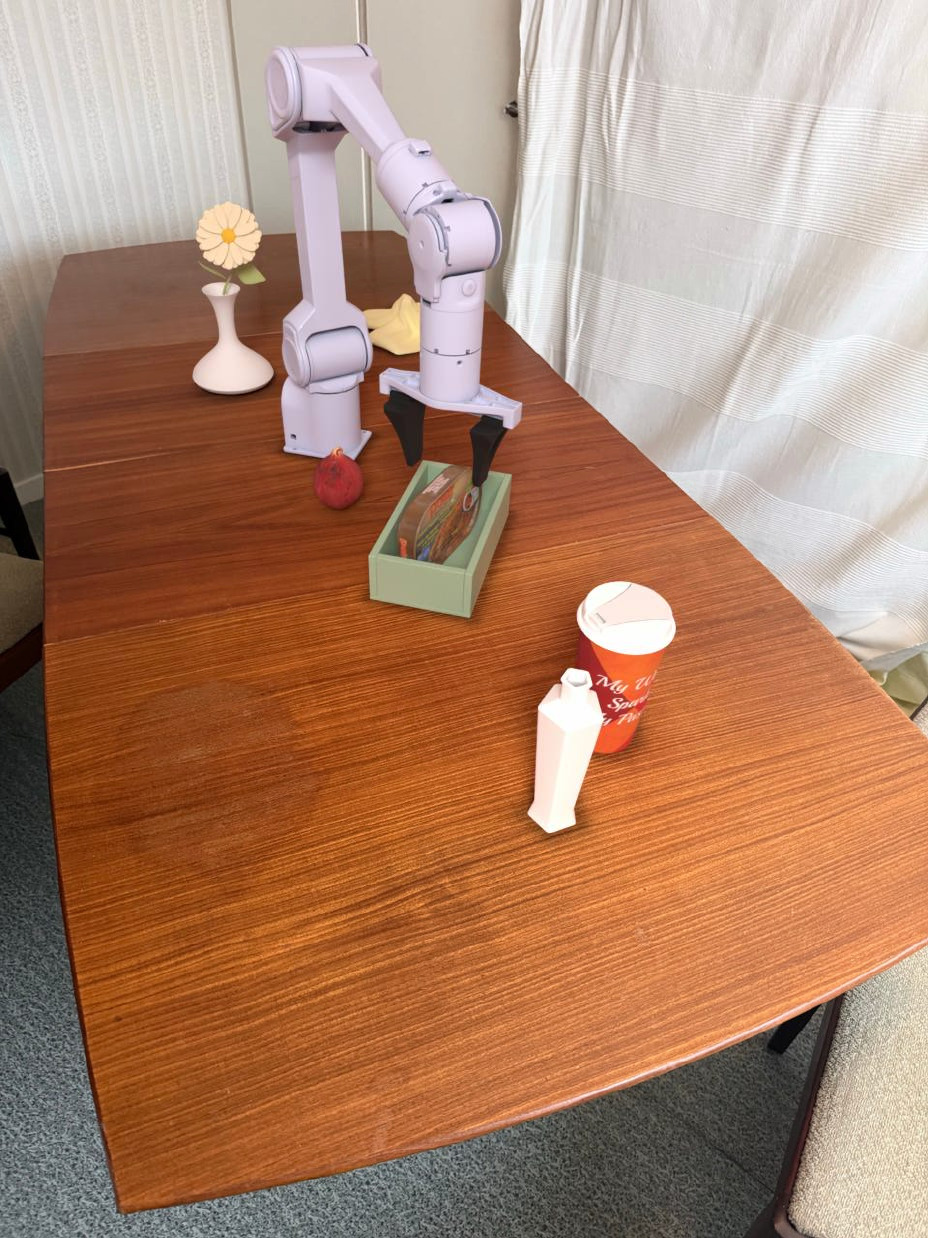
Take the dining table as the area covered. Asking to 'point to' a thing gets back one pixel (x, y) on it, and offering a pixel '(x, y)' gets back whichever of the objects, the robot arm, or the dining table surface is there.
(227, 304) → the flower in vase
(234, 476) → the dining table surface
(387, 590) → the open rectangular box
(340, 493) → the pomegranate
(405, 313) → the cloth
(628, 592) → the paper cup
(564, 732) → the white tall faceted bottle
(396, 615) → the dining table surface
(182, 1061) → the dining table surface
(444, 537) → the tin
